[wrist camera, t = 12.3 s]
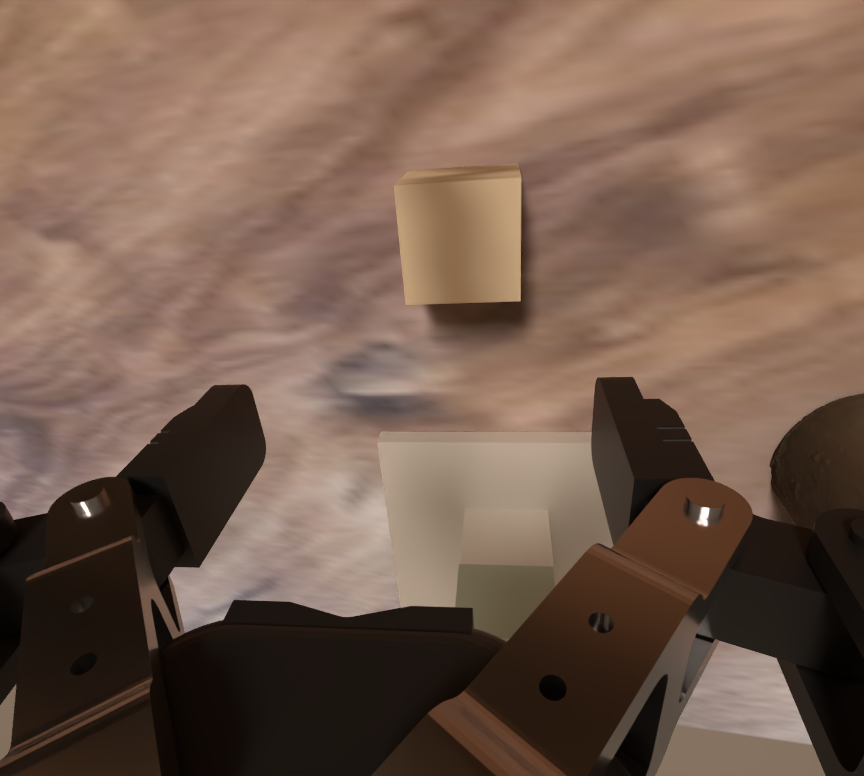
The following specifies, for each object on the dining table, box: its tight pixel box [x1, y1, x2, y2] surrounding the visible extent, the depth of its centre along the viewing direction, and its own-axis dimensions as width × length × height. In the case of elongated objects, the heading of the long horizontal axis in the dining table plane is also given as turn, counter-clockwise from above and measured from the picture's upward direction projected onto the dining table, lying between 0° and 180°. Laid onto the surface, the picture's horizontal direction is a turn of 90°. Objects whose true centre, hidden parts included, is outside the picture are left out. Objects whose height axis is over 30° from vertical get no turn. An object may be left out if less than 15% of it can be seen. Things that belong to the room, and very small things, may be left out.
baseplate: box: [377, 432, 613, 608], centre depth 38 cm, size 16×16×1 cm
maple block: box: [394, 164, 521, 305], centre depth 26 cm, size 5×5×5 cm
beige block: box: [460, 509, 554, 574], centre depth 35 cm, size 5×5×5 cm
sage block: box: [455, 564, 555, 641], centre depth 31 cm, size 5×5×5 cm
